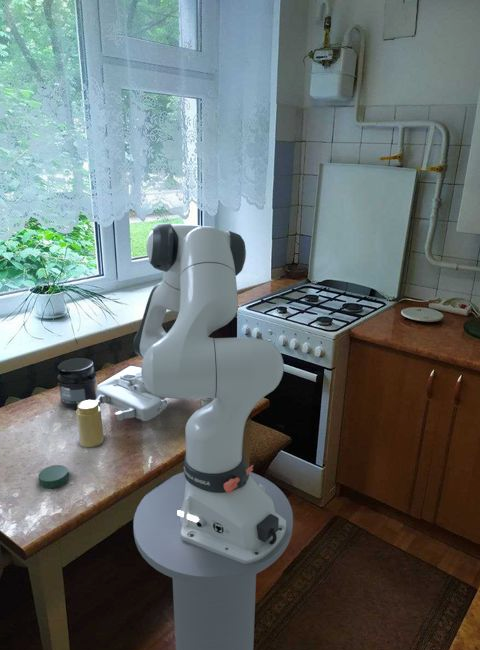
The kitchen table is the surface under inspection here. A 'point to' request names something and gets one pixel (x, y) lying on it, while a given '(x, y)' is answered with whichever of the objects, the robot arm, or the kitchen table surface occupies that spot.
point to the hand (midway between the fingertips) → (104, 411)
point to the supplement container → (77, 382)
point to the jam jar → (89, 423)
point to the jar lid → (53, 476)
